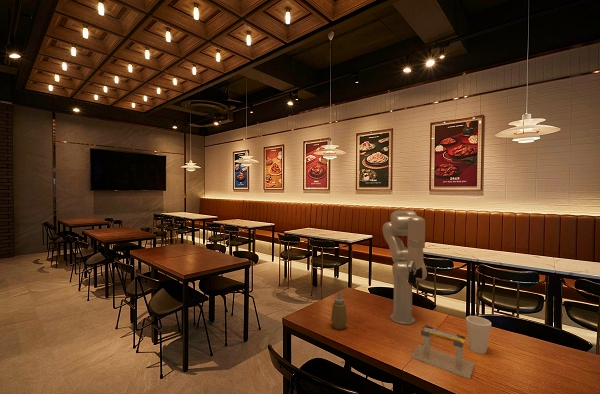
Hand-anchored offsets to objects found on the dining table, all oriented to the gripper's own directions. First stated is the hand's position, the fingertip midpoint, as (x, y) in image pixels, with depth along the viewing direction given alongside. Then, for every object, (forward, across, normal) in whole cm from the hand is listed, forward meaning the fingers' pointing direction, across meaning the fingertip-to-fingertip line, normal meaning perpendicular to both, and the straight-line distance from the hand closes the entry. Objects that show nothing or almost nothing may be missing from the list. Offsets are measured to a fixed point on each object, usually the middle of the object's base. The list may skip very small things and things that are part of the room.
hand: (415, 280), depth 130 cm
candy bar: (+18, +10, +14) cm, 25 cm away
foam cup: (+28, -10, +24) cm, 39 cm away
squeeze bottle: (+28, +12, -34) cm, 46 cm away
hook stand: (+28, +10, +14) cm, 33 cm away
